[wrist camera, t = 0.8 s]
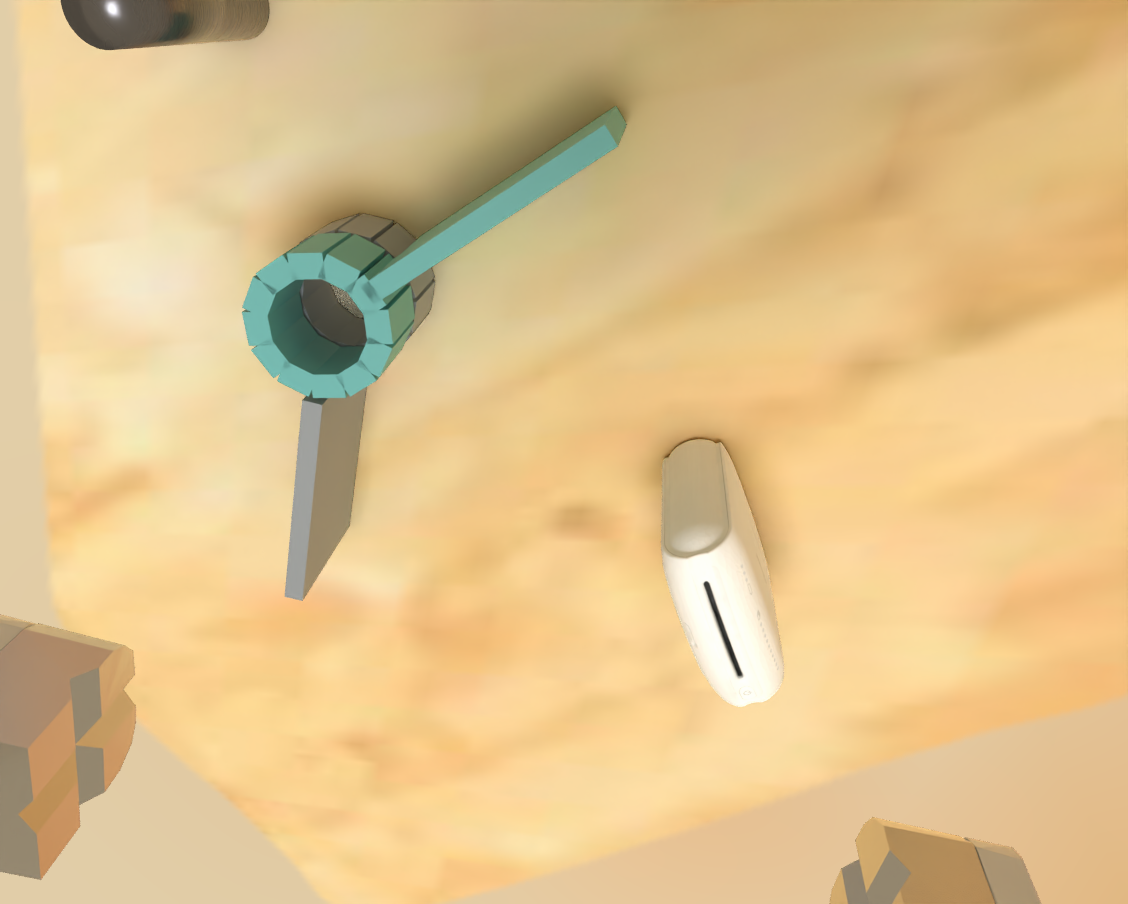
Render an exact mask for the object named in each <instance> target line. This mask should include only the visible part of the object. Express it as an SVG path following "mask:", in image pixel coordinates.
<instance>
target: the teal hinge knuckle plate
mask: <svg viewBox="0 0 1128 904" xmlns="http://www.w3.org/2000/svg"><path fill="white" fill-rule="evenodd" d="M626 125H627V124H626V122H625V120H624V119H623V117H622V115H621V113H620V112H619V110H618V108H617V106H615V107H613V108H612V109H610V110H609V111H607V112H606V113H604V114H603V115H601V116H600V117H598V118H597V119H595V120H594V121H592V122H591V123H589V124H588V125H586V126H585V127H583V128H582V129H580V130H579V131H577V132H576V133H574V134H573V135H571V136H570V137H568V138H567V139H565V140H564V141H562V142H561V143H559V144H558V145H556V146H555V147H553V148H552V149H550V150H549V151H547V152H546V153H544V154H543V155H541V156H540V157H538V158H537V159H535V160H534V161H532V162H531V163H529V164H528V165H526V166H525V167H523V168H522V169H520V170H519V171H517V172H516V173H514V174H513V175H511V176H510V177H508V178H507V179H505V180H504V181H502V182H501V183H499V184H498V185H496V186H495V187H493V188H492V189H490V190H489V191H487V192H486V193H484V194H483V195H481V196H480V197H478V198H477V199H475V200H474V201H472V202H471V203H469V204H468V205H466V206H465V207H463V208H462V209H460V210H459V211H457V212H456V213H454V214H453V215H451V216H450V217H448V218H447V219H445V220H444V221H442V222H441V223H439V224H438V225H436V226H435V227H433V228H432V229H430V230H429V231H427V232H426V233H424V234H423V235H421V236H420V237H419V238H418V239H417V240H416V241H415V242H413V243H412V244H411V245H410V246H409V247H408V248H407V249H406V250H405V251H403V252H402V253H401V254H400V255H398V256H397V257H395V258H394V259H393V258H392V256H391V255H390V253H389V254H387V255H386V256H384V257H383V255H384V253H385V249H383V248H381V247H379V246H377V245H375V244H373V243H371V242H370V241H368V240H366V239H364V238H362V237H360V236H358V235H356V234H354V235H353V236H351V233H323V234H317V235H315V236H314V235H313V236H311V237H310V238H308V239H307V240H305V241H303V242H302V243H300V244H299V245H297V246H296V247H294V248H292V249H291V250H289V251H288V252H286V253H284V254H283V255H281V256H280V257H279V258H277V259H276V260H274V261H273V262H271V263H270V264H269V265H267V266H266V267H264V268H263V269H261V270H260V271H259V272H257V273H256V274H257V275H255V276H254V277H253V279H252V281H251V284H250V287H249V290H248V293H247V296H246V298H245V301H244V304H243V307H242V308H244V309H246V310H244V311H243V312H242V314H243V319H244V324H245V329H246V334H247V338H248V343H249V346H256V347H254V348H253V349H252V350H251V351H252V352H253V353H254V354H255V356H256V357H257V358H258V359H259V361H260V362H261V363H262V364H263V366H264V367H265V368H266V369H267V371H268V372H269V373H270V374H271V376H272V377H273V378H274V377H276V376H277V375H279V374H280V375H279V378H278V380H277V381H278V382H280V383H282V384H284V385H286V386H288V387H290V388H292V389H294V390H296V391H298V392H300V393H302V394H304V395H306V396H308V397H309V396H310V395H311V394H312V395H313V398H346V397H347V396H348V395H349V396H350V397H351V396H352V395H354V394H355V393H357V392H359V391H360V390H362V389H364V388H365V387H367V386H369V385H370V384H372V383H373V382H375V381H377V379H378V378H379V377H380V376H381V375H382V373H383V372H384V371H385V370H386V368H387V367H388V366H389V365H390V363H391V362H392V361H393V360H394V358H395V357H396V356H397V355H398V353H399V352H400V351H401V350H402V348H403V346H404V344H405V341H406V339H407V337H408V335H409V333H410V330H411V328H412V326H413V324H414V322H413V320H414V318H415V314H414V306H413V298H412V290H411V286H405V285H406V284H407V283H408V282H410V281H411V280H413V279H414V278H416V277H417V276H419V275H420V274H422V273H423V272H425V271H426V270H428V269H430V268H431V267H433V266H434V265H436V264H437V263H439V262H440V261H442V260H443V259H445V258H447V257H448V256H450V255H451V254H453V253H454V252H456V251H457V250H459V249H460V248H462V247H463V246H465V245H467V244H468V243H470V242H471V241H473V240H474V239H476V238H477V237H479V236H480V235H482V234H484V233H485V232H487V231H488V230H490V229H491V228H493V227H494V226H496V225H497V224H499V223H500V222H502V221H504V220H505V219H507V218H508V217H510V216H511V215H513V214H514V213H516V212H517V211H519V210H520V209H522V208H524V207H525V206H527V205H528V204H530V203H531V202H533V201H534V200H536V199H537V198H539V197H541V196H542V195H544V194H545V193H547V192H548V191H550V190H551V189H553V188H554V187H556V186H557V185H559V184H561V183H562V182H564V181H565V180H567V179H568V178H570V177H571V176H573V175H574V174H576V173H578V172H579V171H581V170H582V169H584V168H585V167H587V166H588V165H590V164H591V163H593V162H594V161H596V160H598V159H599V158H601V157H602V156H604V155H605V154H607V153H608V152H610V151H611V150H613V149H615V148H616V147H618V145H619V142H620V140H621V137H622V135H623V132H624V130H625V127H626ZM304 279H323V280H325V281H327V282H328V283H330V284H332V285H334V286H336V287H338V288H340V289H342V290H344V291H346V292H347V293H348V294H349V296H350V297H351V298H352V300H353V301H354V302H355V304H356V305H357V307H358V308H359V309H360V311H361V312H362V313H363V315H364V322H365V329H366V335H367V342H366V344H365V346H351V347H340V346H338V345H336V344H334V343H333V342H331V341H329V340H327V339H325V338H323V337H321V336H319V335H318V334H317V333H316V331H315V330H314V329H313V327H312V326H311V325H310V323H309V322H308V321H307V319H306V318H305V317H304V315H303V310H302V304H301V299H300V293H299V291H300V289H301V286H302V284H303V281H304Z"/></svg>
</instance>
